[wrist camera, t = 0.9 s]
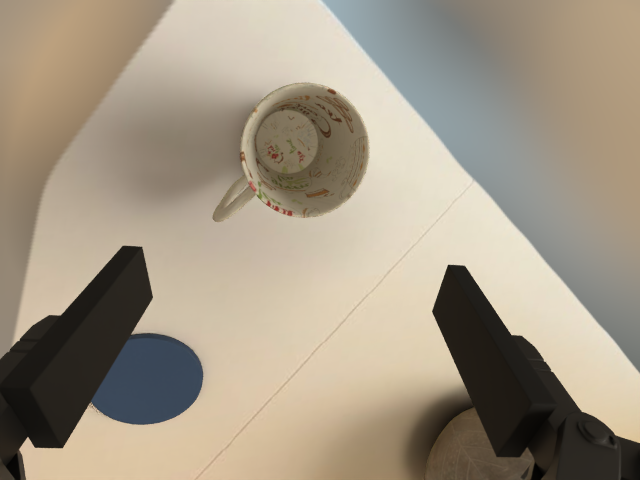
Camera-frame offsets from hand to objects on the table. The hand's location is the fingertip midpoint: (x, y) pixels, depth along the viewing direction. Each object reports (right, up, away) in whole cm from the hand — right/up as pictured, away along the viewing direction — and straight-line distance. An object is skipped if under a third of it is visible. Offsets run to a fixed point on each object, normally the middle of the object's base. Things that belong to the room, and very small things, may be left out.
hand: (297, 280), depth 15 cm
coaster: (-17, -13, +21) cm, 30 cm away
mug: (-4, +9, +16) cm, 19 cm away
